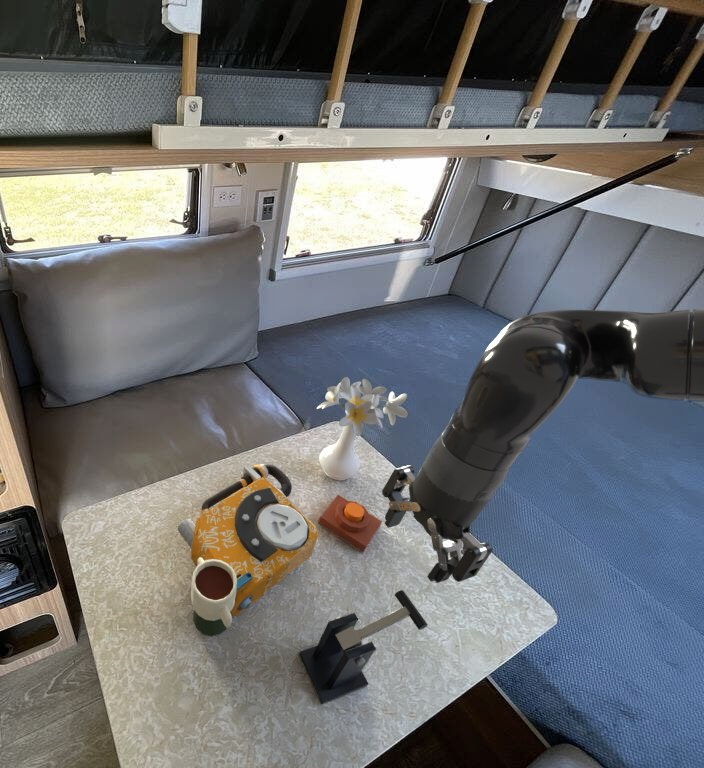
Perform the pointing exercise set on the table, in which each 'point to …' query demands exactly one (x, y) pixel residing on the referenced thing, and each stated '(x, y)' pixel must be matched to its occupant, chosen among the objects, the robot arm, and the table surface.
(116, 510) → the table surface
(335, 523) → the block
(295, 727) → the table surface
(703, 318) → the robot arm
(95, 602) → the table surface
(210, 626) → the character mug
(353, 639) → the lever
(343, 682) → the bracket
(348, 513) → the button
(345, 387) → the flower vase
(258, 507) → the device
